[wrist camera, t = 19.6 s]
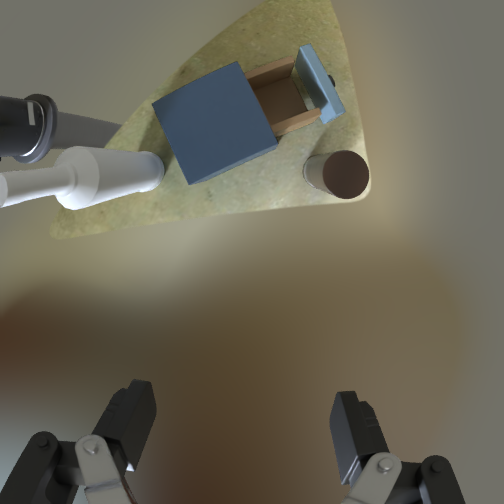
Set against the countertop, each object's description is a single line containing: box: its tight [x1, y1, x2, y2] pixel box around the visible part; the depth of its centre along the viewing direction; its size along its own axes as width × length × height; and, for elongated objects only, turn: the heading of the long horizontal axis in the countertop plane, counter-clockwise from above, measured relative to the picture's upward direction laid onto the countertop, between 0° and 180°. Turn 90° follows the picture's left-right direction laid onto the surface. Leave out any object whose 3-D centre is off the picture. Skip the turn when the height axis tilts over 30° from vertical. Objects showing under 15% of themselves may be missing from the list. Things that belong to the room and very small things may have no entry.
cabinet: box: [152, 61, 278, 185], centre depth 30 cm, size 9×9×8 cm
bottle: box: [0, 146, 165, 210], centre depth 24 cm, size 5×5×25 cm
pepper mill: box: [303, 150, 369, 199], centre depth 29 cm, size 4×4×13 cm
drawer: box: [244, 44, 346, 137], centre depth 29 cm, size 10×8×7 cm
